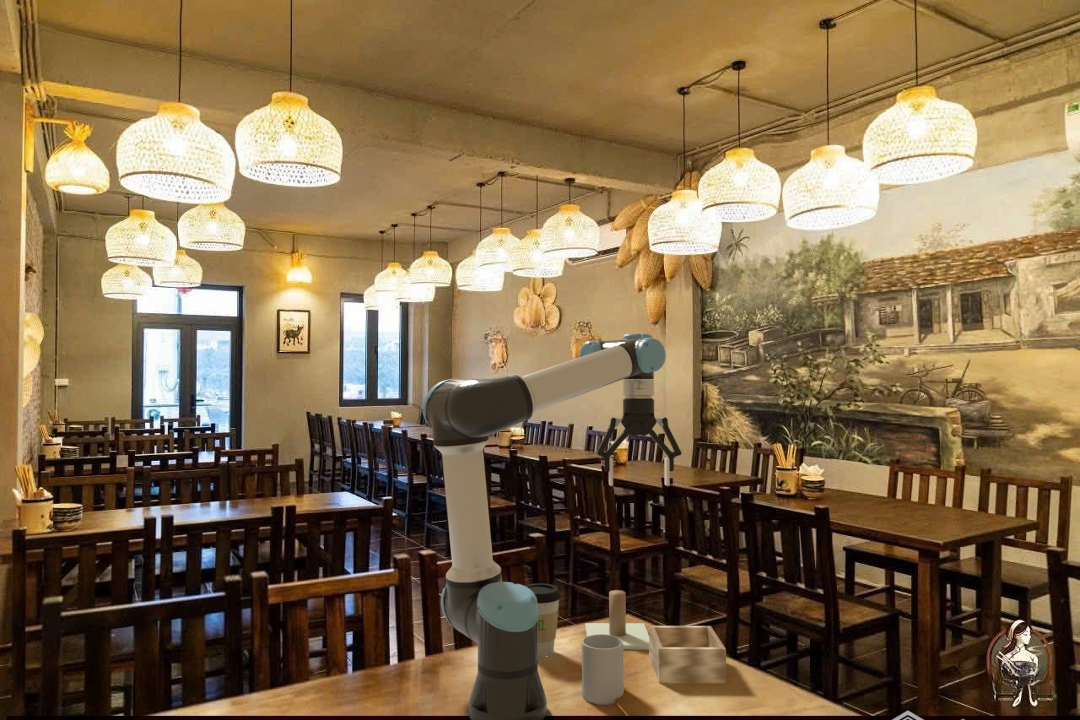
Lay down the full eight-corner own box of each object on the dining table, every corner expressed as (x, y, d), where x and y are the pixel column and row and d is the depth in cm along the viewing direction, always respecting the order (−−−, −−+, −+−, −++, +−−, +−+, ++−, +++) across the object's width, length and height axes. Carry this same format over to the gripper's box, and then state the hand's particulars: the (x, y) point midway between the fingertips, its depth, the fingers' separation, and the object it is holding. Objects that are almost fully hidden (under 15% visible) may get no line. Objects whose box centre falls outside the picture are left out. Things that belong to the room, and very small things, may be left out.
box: (659, 687, 149) (658, 649, 149) (649, 661, 163) (649, 625, 163) (726, 687, 149) (725, 649, 149) (710, 661, 163) (710, 625, 163)
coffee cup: (514, 647, 171) (514, 584, 172) (553, 642, 174) (553, 581, 175) (526, 663, 162) (525, 596, 162) (566, 658, 165) (566, 592, 165)
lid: (588, 654, 168) (588, 602, 168) (585, 631, 183) (585, 583, 183) (652, 654, 167) (652, 602, 168) (644, 631, 182) (643, 583, 183)
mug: (625, 705, 141) (625, 649, 141) (582, 705, 141) (582, 649, 141) (620, 680, 153) (620, 628, 153) (580, 679, 153) (580, 627, 153)
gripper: (588, 397, 170) (588, 487, 169) (693, 397, 170) (693, 487, 169) (586, 397, 177) (586, 482, 177) (686, 396, 177) (687, 482, 177)
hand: (639, 485), depth 173 cm, fingers open, 13 cm apart
